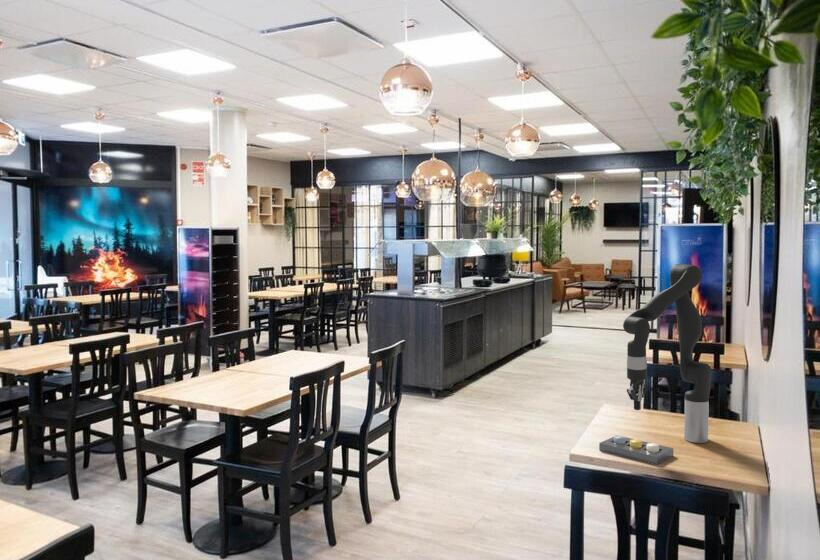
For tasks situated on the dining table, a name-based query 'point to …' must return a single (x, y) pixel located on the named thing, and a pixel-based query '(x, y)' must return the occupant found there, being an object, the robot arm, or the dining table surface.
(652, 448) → the button ivory
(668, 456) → the panel
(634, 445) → the button mustard
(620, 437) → the button blue
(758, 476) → the dining table surface
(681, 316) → the robot arm
